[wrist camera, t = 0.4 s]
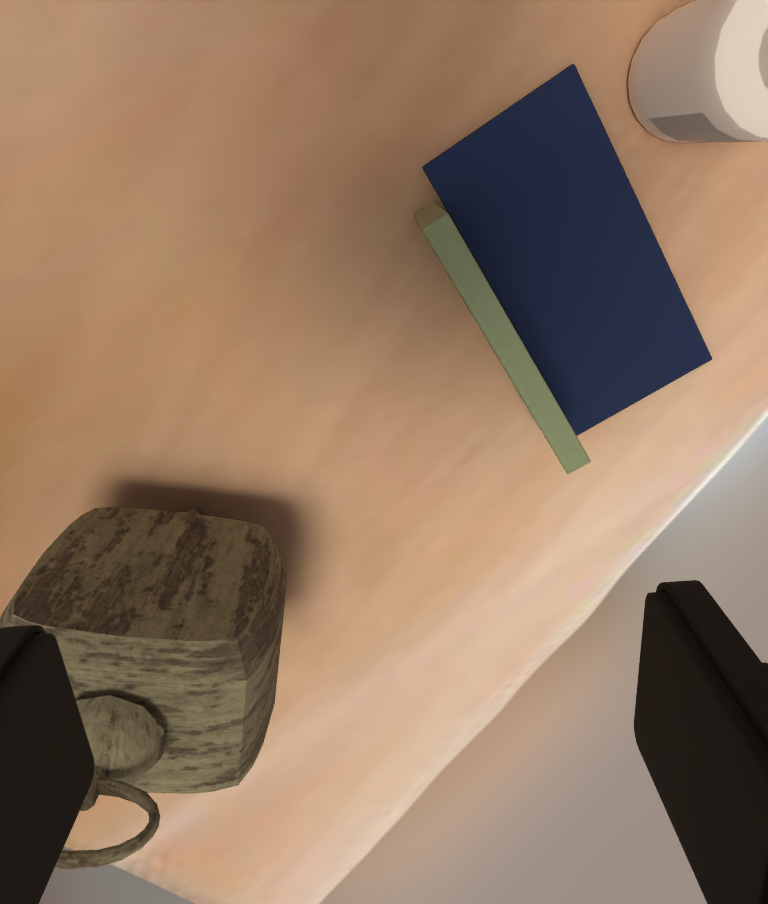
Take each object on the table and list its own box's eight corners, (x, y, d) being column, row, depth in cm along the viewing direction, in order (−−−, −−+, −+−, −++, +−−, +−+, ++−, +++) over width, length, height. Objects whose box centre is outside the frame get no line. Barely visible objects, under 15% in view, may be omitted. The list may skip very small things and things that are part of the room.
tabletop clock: (96, 580, 52) (-122, 921, 29) (93, 469, 49) (-157, 757, 26) (292, 601, 53) (231, 946, 30) (303, 494, 50) (245, 793, 27)
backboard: (434, 201, 42) (447, 212, 35) (557, 413, 47) (591, 461, 40) (413, 215, 42) (421, 229, 35) (537, 424, 48) (567, 474, 40)
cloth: (572, 64, 39) (574, 63, 39) (709, 357, 46) (712, 359, 46) (422, 166, 41) (422, 167, 41) (575, 433, 48) (576, 435, 48)
